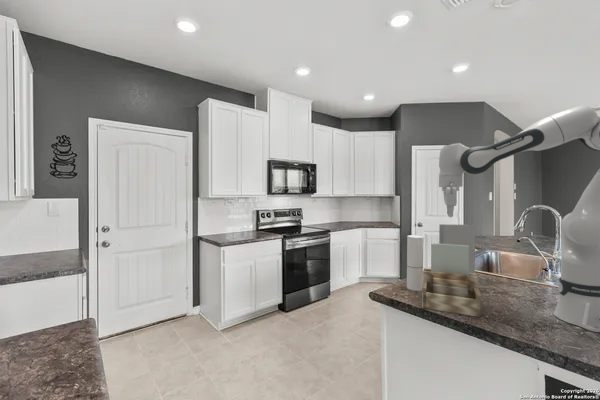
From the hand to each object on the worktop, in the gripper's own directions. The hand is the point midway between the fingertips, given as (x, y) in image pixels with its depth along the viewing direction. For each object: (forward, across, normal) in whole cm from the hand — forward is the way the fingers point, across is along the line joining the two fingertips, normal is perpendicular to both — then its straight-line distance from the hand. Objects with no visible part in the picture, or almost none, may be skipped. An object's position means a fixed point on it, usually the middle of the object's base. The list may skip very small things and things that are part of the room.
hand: (449, 215), depth 118 cm
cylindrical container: (+36, +10, +14) cm, 40 cm away
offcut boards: (+36, -7, 0) cm, 37 cm away
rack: (+36, -4, 0) cm, 36 cm away
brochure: (+36, +21, -4) cm, 42 cm away
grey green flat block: (+36, 0, 0) cm, 36 cm away
